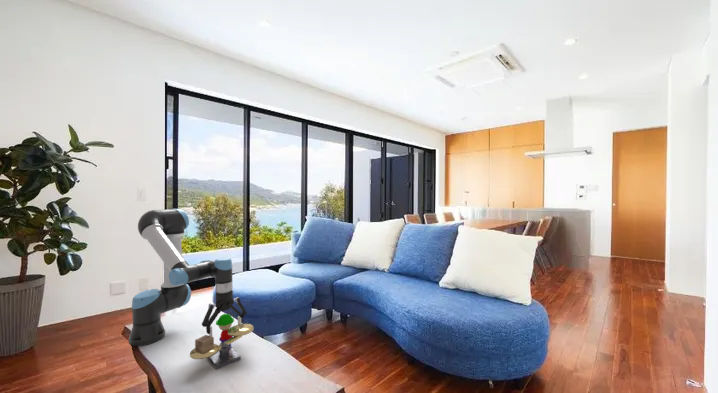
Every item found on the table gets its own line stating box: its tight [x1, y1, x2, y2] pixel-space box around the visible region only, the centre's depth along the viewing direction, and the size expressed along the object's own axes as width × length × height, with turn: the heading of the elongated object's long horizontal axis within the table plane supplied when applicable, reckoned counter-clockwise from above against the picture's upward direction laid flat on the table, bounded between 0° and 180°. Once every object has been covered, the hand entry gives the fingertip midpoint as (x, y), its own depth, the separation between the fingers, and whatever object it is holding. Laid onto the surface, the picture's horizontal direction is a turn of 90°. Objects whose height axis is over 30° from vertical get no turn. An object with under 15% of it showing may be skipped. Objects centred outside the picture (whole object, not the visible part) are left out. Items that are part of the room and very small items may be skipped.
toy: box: [215, 313, 235, 347], centre depth 147 cm, size 8×8×15 cm
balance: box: [189, 323, 255, 370], centre depth 135 cm, size 12×26×11 cm, turn 133°
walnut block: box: [194, 334, 215, 354], centre depth 130 cm, size 5×5×5 cm
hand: (225, 334), depth 147 cm, fingers open, 13 cm apart
